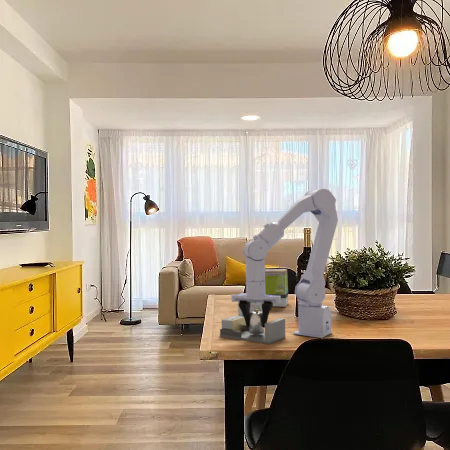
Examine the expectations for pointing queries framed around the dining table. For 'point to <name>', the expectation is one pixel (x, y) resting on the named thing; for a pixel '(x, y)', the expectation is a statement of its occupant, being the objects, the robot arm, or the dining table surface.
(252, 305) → the medicine box
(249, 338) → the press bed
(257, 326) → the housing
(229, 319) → the block
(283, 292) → the tea box
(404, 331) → the dining table surface
